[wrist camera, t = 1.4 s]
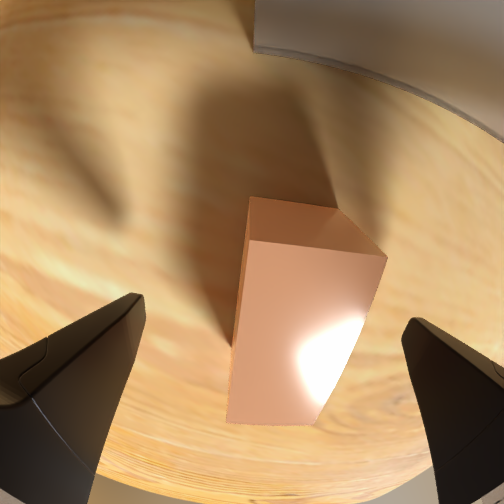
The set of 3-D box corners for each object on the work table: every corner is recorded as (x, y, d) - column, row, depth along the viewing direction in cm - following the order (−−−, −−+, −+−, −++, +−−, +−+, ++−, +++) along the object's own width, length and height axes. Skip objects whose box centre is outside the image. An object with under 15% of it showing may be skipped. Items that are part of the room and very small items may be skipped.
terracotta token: (337, 207, 9) (388, 257, 6) (298, 350, 12) (312, 425, 8) (250, 195, 9) (249, 239, 5) (231, 345, 12) (226, 423, 8)
